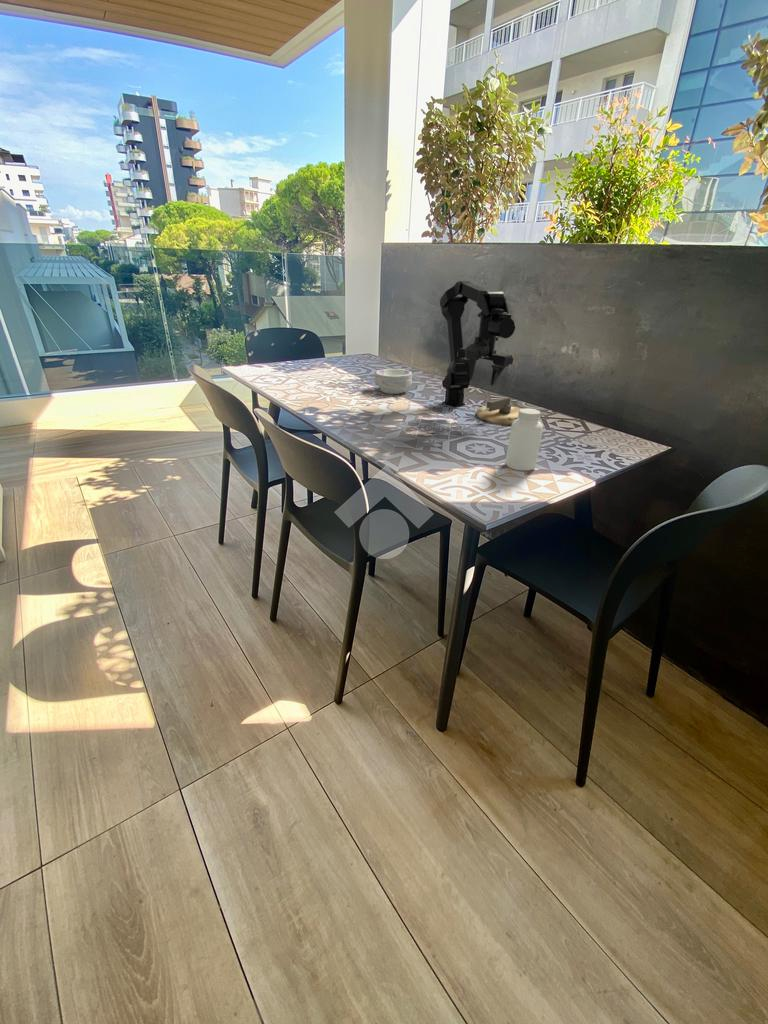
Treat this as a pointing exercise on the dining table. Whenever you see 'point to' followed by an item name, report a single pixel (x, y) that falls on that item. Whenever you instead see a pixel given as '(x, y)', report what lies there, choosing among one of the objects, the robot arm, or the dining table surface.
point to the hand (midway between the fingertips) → (481, 382)
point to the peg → (499, 405)
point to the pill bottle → (524, 440)
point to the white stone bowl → (393, 380)
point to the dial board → (498, 416)
